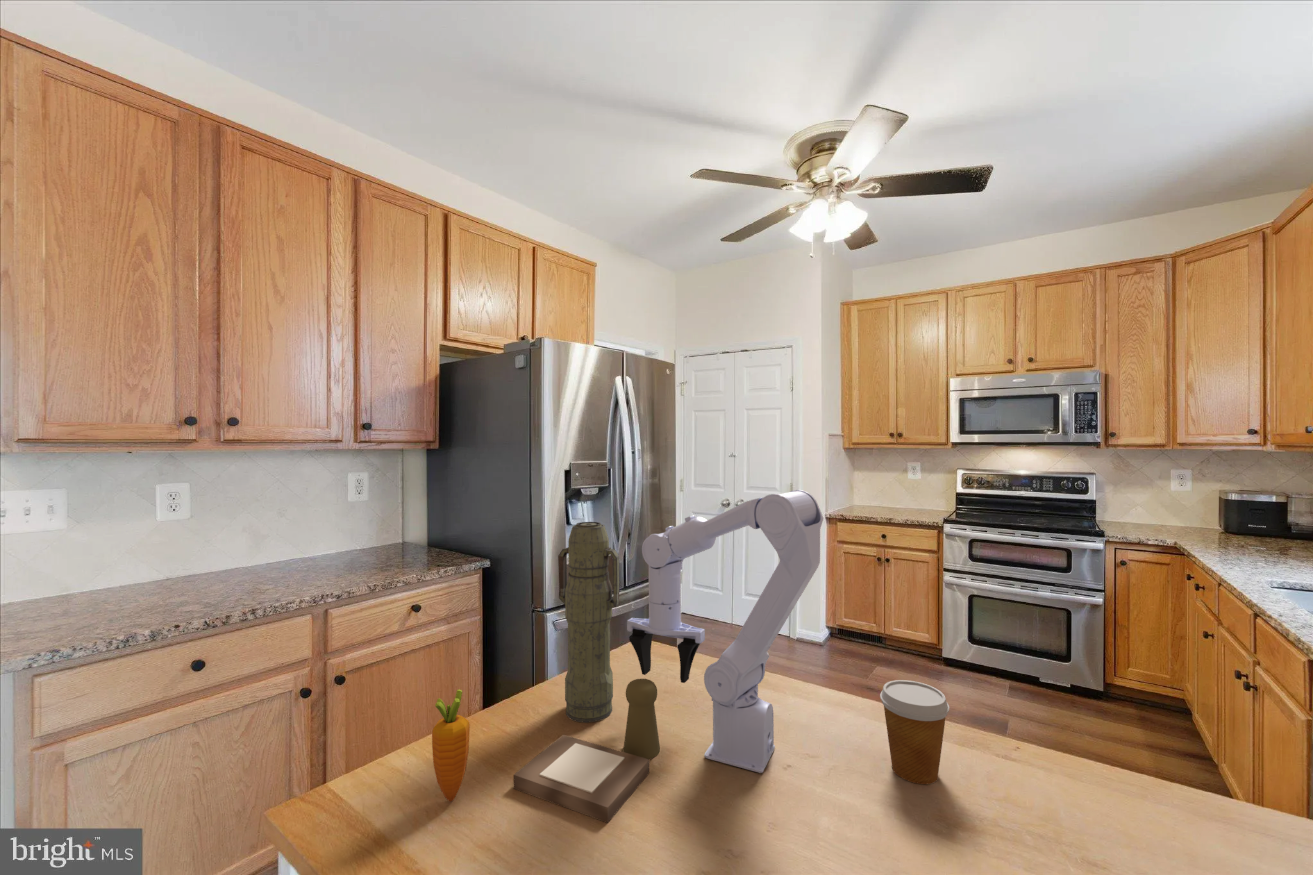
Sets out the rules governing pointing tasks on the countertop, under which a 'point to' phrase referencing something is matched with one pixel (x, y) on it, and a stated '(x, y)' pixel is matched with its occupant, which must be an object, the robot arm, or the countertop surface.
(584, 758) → the walnut plinth
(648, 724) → the olive pawn piece
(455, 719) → the carrot
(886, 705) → the disposable coffee cup
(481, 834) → the countertop surface
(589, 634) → the thermos
